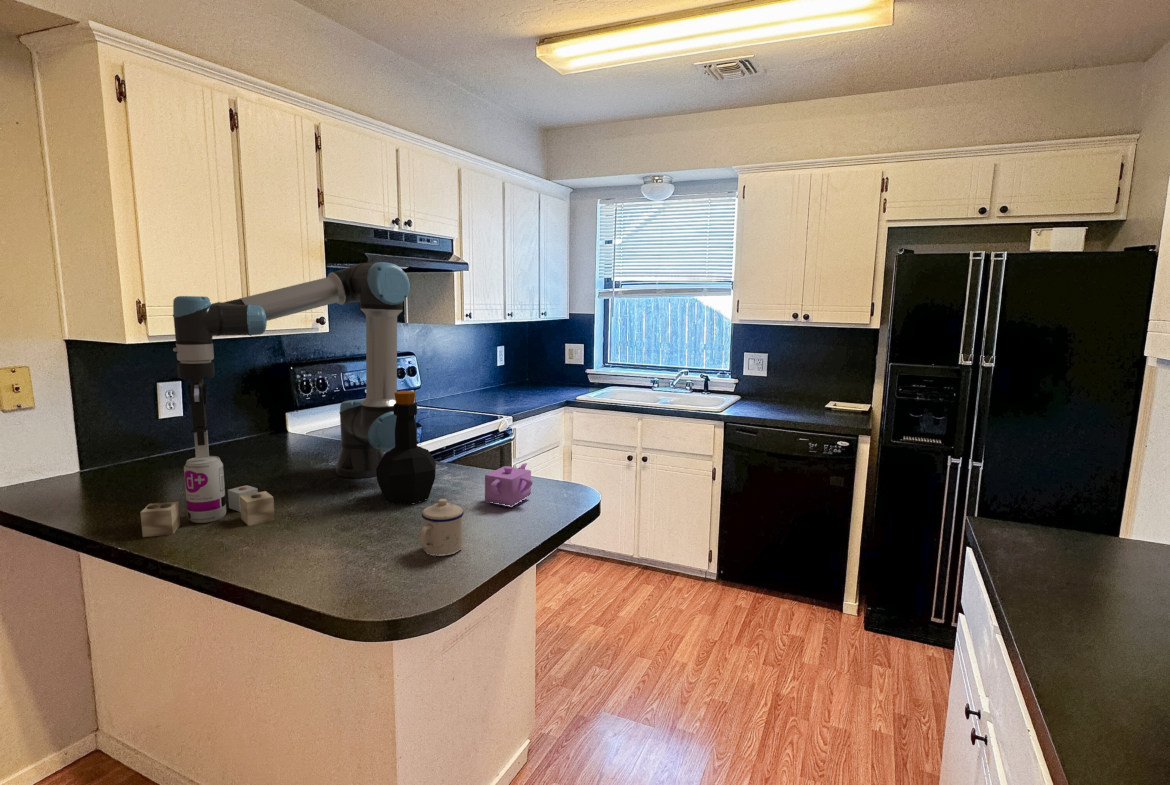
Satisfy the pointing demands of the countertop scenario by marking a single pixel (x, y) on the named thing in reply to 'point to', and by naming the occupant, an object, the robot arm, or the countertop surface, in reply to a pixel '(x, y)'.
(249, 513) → the maple block
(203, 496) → the supplement can
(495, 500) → the teapot
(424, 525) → the teacup with lid
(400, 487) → the bottle
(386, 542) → the countertop surface
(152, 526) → the maple block
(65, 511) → the countertop surface
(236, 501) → the grey plastic block
